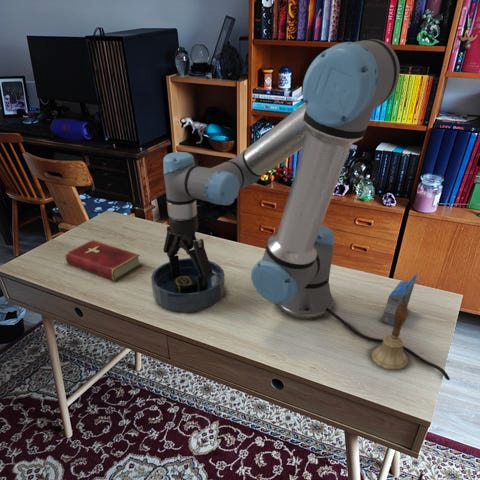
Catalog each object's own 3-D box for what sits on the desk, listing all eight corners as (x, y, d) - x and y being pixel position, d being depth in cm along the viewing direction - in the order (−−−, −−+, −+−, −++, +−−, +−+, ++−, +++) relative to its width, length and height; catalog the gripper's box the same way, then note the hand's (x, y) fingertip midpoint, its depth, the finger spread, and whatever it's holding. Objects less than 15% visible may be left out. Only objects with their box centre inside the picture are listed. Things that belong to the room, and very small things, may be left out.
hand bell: (372, 344, 109) (384, 289, 100) (407, 350, 107) (423, 295, 98) (370, 366, 103) (383, 309, 94) (407, 373, 101) (424, 316, 92)
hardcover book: (114, 282, 134) (111, 269, 132) (67, 264, 143) (64, 252, 141) (141, 265, 142) (139, 253, 140) (95, 250, 151) (92, 238, 149)
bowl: (239, 294, 128) (239, 277, 125) (180, 322, 117) (178, 303, 114) (197, 268, 141) (195, 251, 137) (140, 291, 130) (137, 273, 126)
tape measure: (202, 293, 127) (201, 282, 125) (180, 300, 124) (179, 289, 122) (192, 283, 132) (191, 272, 130) (170, 289, 129) (169, 278, 127)
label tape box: (393, 306, 123) (402, 267, 116) (407, 311, 121) (418, 271, 114) (381, 321, 117) (390, 281, 110) (396, 326, 115) (407, 286, 108)
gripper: (224, 226, 109) (226, 298, 122) (168, 199, 125) (175, 265, 137) (199, 235, 105) (204, 308, 118) (145, 205, 121) (154, 273, 133)
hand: (189, 285), depth 127 cm, fingers open, 13 cm apart
